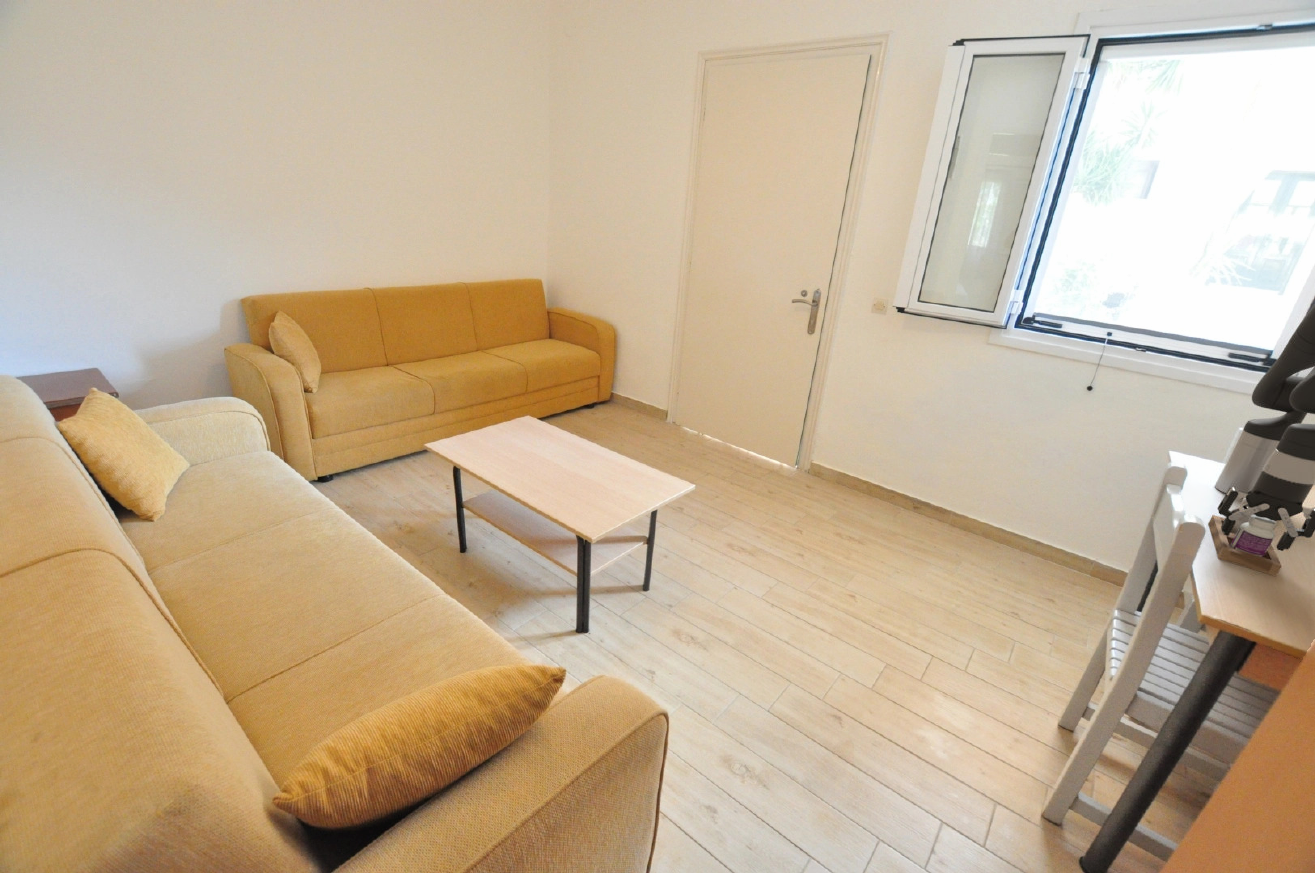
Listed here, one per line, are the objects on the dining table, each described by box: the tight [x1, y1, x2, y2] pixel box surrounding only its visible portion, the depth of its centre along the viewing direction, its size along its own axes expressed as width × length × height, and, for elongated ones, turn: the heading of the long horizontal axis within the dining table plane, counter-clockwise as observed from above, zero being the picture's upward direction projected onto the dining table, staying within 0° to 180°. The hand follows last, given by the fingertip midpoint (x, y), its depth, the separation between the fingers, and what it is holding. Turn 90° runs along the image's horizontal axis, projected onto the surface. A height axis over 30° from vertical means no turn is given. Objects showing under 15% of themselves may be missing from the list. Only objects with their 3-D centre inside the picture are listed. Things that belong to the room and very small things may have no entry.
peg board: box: [1207, 498, 1283, 577], centre depth 125 cm, size 20×9×10 cm, turn 142°
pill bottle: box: [1230, 515, 1278, 557], centre depth 122 cm, size 5×5×10 cm
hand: (1251, 541), depth 122 cm, fingers open, 8 cm apart
